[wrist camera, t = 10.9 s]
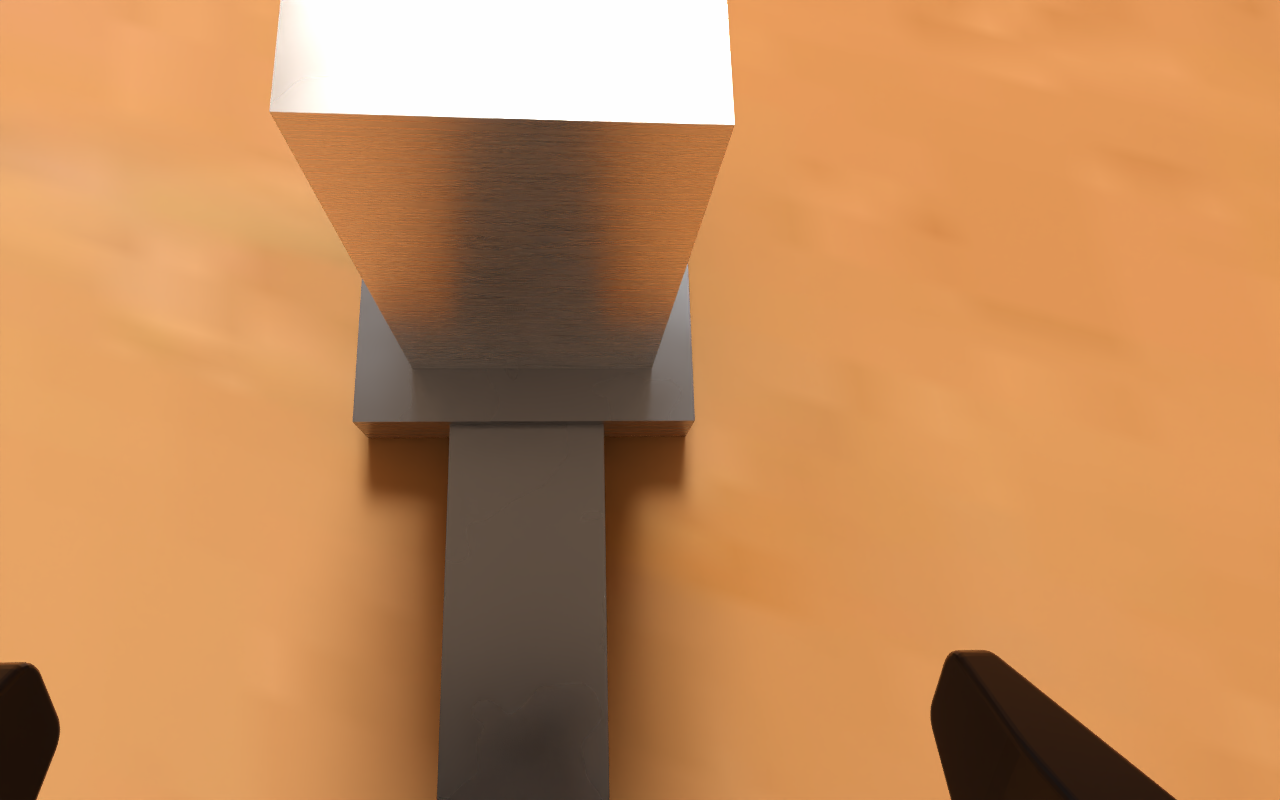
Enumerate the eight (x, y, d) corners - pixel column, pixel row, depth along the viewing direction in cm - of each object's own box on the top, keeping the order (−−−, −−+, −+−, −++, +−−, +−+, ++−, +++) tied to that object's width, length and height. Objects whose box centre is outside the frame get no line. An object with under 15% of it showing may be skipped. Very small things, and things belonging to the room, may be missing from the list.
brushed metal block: (651, 368, 18) (735, 125, 9) (412, 368, 18) (270, 112, 9) (645, 159, 19) (712, -221, 11) (421, 154, 19) (305, -249, 10)
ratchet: (721, 1317, 15) (784, 1589, 11) (313, 1357, 14) (208, 1665, 10) (673, 161, 21) (702, 40, 17) (385, 155, 21) (338, 27, 16)
